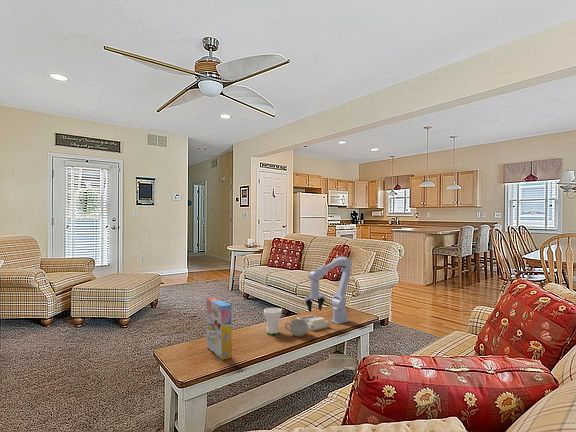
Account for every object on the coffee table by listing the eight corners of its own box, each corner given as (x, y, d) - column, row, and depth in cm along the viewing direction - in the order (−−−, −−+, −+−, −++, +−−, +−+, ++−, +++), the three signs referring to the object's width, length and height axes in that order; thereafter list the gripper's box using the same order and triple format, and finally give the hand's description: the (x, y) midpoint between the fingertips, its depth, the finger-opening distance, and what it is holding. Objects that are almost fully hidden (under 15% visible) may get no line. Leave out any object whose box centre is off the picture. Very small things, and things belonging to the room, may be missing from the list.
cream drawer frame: (311, 319, 231) (311, 314, 231) (328, 327, 214) (328, 322, 214) (295, 322, 224) (295, 317, 224) (312, 331, 207) (312, 325, 207)
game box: (232, 358, 169) (231, 304, 169) (222, 360, 166) (221, 306, 166) (215, 345, 186) (215, 296, 186) (206, 347, 183) (205, 298, 183)
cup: (273, 328, 212) (273, 306, 212) (285, 332, 205) (285, 310, 204) (260, 333, 205) (259, 310, 205) (272, 337, 197) (271, 313, 197)
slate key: (316, 320, 223) (316, 316, 223) (319, 321, 220) (319, 317, 220) (304, 322, 218) (304, 318, 218) (307, 323, 215) (307, 320, 215)
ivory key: (321, 320, 218) (321, 317, 218) (324, 322, 215) (324, 318, 215) (309, 323, 213) (309, 319, 213) (312, 324, 210) (312, 321, 210)
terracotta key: (311, 317, 228) (311, 314, 228) (314, 319, 225) (314, 315, 225) (299, 319, 223) (299, 316, 223) (302, 321, 220) (302, 317, 220)
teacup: (308, 331, 206) (308, 319, 206) (307, 338, 195) (307, 324, 195) (286, 331, 207) (285, 318, 207) (284, 337, 197) (284, 324, 197)
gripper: (320, 287, 223) (320, 307, 223) (302, 289, 216) (302, 310, 216) (326, 289, 217) (326, 310, 217) (307, 291, 210) (308, 313, 210)
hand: (315, 310), depth 216 cm, fingers open, 7 cm apart
